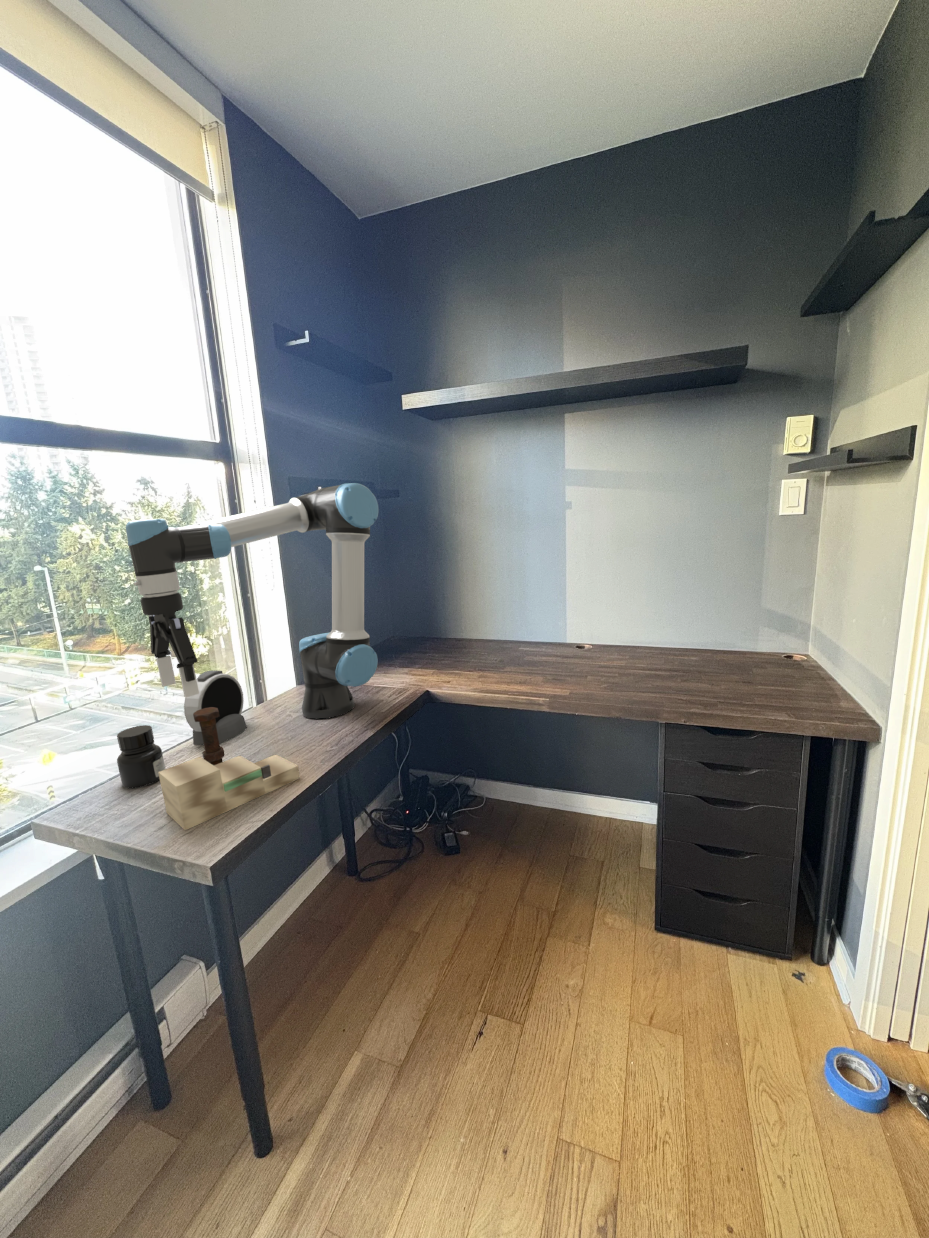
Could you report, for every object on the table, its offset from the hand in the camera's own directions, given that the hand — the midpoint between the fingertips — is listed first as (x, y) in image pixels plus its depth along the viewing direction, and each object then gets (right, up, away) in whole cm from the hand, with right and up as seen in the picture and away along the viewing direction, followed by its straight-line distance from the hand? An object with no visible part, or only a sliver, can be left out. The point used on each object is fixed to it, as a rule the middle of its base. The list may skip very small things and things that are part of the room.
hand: (180, 690), depth 115 cm
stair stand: (+14, -22, -4) cm, 26 cm away
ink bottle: (-12, -22, +7) cm, 26 cm away
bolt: (+4, -20, +8) cm, 22 cm away
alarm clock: (-5, -17, +30) cm, 35 cm away
